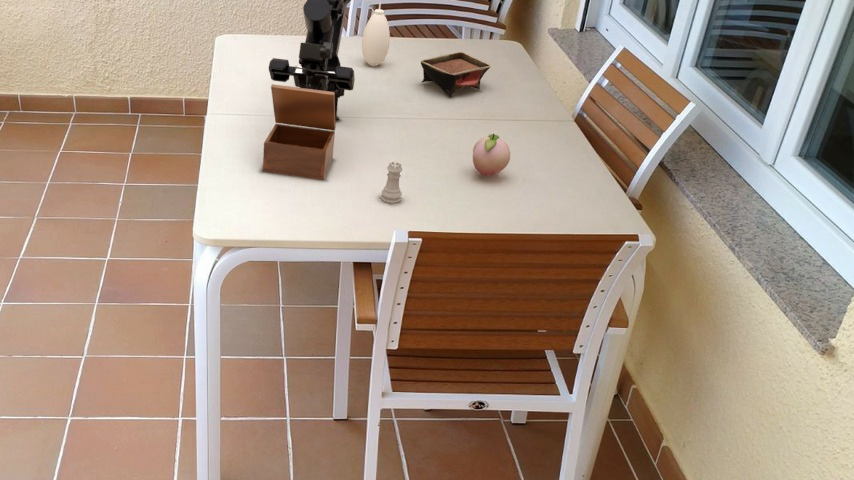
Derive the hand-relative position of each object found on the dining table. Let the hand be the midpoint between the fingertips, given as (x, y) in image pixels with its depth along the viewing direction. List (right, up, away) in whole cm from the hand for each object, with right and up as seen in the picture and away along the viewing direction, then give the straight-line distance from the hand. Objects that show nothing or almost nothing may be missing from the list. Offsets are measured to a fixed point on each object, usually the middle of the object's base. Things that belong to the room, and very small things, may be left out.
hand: (304, 109), depth 212 cm
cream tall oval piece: (+21, +29, +65) cm, 74 cm away
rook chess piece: (+18, -21, -8) cm, 29 cm away
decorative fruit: (+41, -14, +5) cm, 44 cm away
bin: (-1, -12, +3) cm, 12 cm away
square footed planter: (+41, +20, +53) cm, 69 cm away
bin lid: (0, 0, -2) cm, 2 cm away
